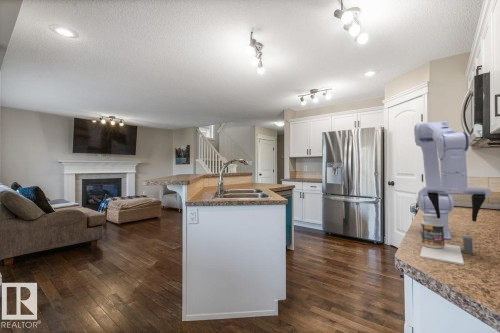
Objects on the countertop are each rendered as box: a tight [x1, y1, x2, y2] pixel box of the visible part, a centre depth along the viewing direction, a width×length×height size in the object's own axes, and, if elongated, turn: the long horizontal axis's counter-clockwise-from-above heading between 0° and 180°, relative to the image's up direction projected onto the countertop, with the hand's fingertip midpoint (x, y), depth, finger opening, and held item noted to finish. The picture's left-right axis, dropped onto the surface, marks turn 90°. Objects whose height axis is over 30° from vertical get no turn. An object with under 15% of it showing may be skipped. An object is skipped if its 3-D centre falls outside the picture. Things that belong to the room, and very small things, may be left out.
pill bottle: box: [420, 213, 446, 248], centre depth 71 cm, size 6×6×10 cm
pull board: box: [419, 235, 474, 266], centre depth 66 cm, size 18×12×4 cm, turn 139°
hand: (455, 219), depth 66 cm, fingers open, 7 cm apart
